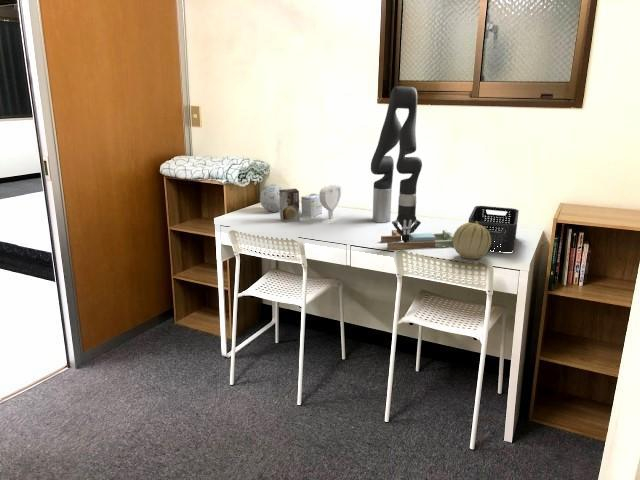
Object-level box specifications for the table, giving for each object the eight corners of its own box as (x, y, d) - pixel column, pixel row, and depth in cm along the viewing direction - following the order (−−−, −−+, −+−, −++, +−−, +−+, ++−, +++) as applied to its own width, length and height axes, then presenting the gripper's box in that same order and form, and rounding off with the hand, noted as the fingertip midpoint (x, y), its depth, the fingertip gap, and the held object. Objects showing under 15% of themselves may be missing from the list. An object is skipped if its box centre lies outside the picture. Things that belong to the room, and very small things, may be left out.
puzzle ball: (289, 213, 277) (289, 186, 272) (262, 215, 273) (261, 188, 269) (284, 207, 291) (283, 181, 286) (258, 209, 287) (257, 183, 282)
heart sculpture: (326, 224, 256) (326, 189, 250) (318, 222, 258) (318, 188, 253) (342, 217, 268) (342, 184, 263) (334, 216, 271) (334, 183, 265)
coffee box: (296, 218, 267) (296, 188, 262) (299, 221, 261) (299, 190, 257) (279, 219, 265) (278, 189, 260) (282, 222, 259) (282, 191, 254)
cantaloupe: (448, 261, 202) (451, 224, 197) (454, 250, 215) (457, 216, 210) (487, 266, 196) (490, 228, 192) (491, 254, 209) (494, 219, 205)
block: (409, 243, 225) (409, 233, 224) (431, 242, 226) (431, 233, 225) (412, 247, 220) (413, 237, 218) (435, 246, 220) (435, 237, 219)
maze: (376, 236, 235) (376, 227, 234) (438, 233, 239) (439, 224, 238) (388, 249, 216) (388, 240, 214) (456, 246, 220) (456, 237, 219)
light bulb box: (312, 212, 280) (312, 192, 277) (322, 213, 277) (322, 194, 273) (301, 215, 272) (300, 196, 269) (311, 217, 268) (310, 197, 265)
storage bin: (512, 255, 209) (516, 224, 205) (464, 249, 216) (467, 219, 212) (515, 236, 234) (519, 208, 230) (472, 232, 241) (475, 205, 237)
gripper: (419, 201, 222) (417, 239, 227) (389, 202, 220) (388, 240, 225) (424, 205, 215) (422, 243, 220) (394, 206, 213) (393, 245, 218)
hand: (405, 242), depth 222 cm, fingers closed
